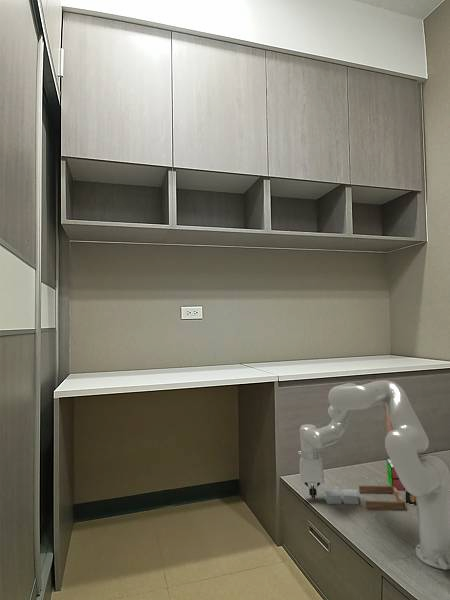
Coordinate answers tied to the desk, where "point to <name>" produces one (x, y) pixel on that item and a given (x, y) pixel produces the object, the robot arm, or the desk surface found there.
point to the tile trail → (332, 496)
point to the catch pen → (383, 504)
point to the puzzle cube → (393, 476)
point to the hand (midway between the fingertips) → (313, 496)
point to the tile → (350, 496)
